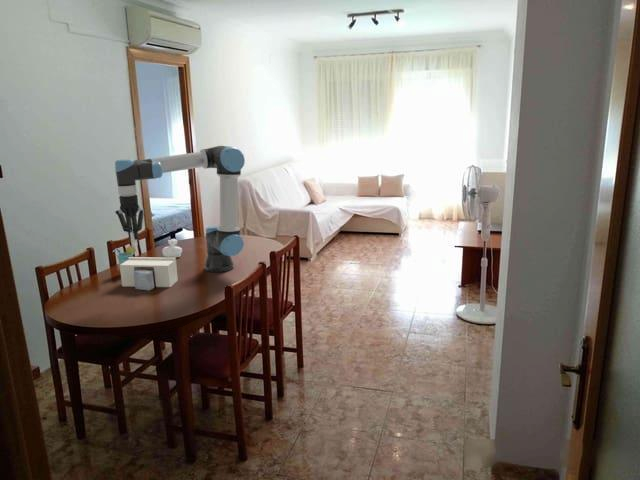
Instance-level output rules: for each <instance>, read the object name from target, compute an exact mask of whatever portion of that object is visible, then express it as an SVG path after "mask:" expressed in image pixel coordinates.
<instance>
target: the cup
mask: <svg viewBox="0 0 640 480" xmlns="http://www.w3.org/2000/svg"><path fill="white" fill-rule="evenodd" d="M111 252H112V253H115V252H118V254H117V255H116V256H117V258H118V259H117V260H118V263H119V265H120V264H122V263H124V262H125V261H127V260H128V258H129V257H134V255H135V254H136V247H132V245H129V246H128V247H126V250H125V252H121V250H120V249H119V248H115V249H114V250H112V251H111Z"/></svg>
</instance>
